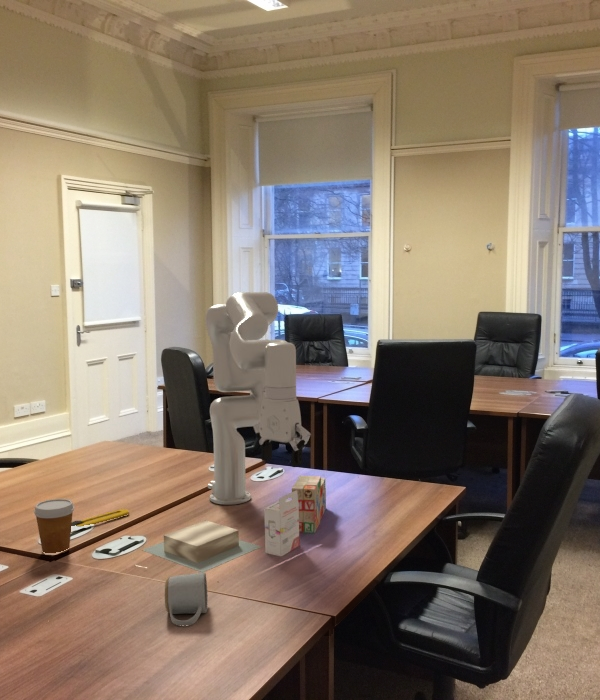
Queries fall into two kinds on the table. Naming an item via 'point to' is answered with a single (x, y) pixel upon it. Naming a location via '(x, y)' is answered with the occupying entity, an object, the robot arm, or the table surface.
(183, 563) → the mat
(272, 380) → the robot arm
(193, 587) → the ceramic mug
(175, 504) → the table surface
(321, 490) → the stack of blocks
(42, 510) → the disposable coffee cup
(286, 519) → the ink cartridge box
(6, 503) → the table surface
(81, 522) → the utility knife
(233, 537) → the base block
